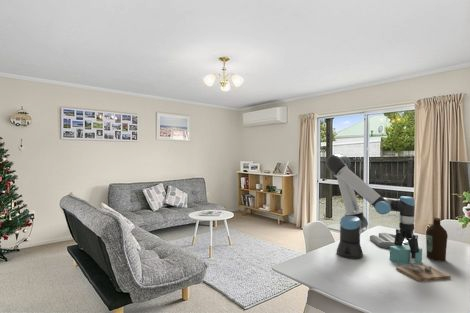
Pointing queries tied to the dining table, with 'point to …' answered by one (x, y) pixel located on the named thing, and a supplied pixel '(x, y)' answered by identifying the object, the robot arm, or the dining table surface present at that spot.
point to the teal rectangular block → (403, 254)
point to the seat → (423, 273)
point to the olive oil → (436, 241)
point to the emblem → (385, 240)
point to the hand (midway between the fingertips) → (405, 260)
